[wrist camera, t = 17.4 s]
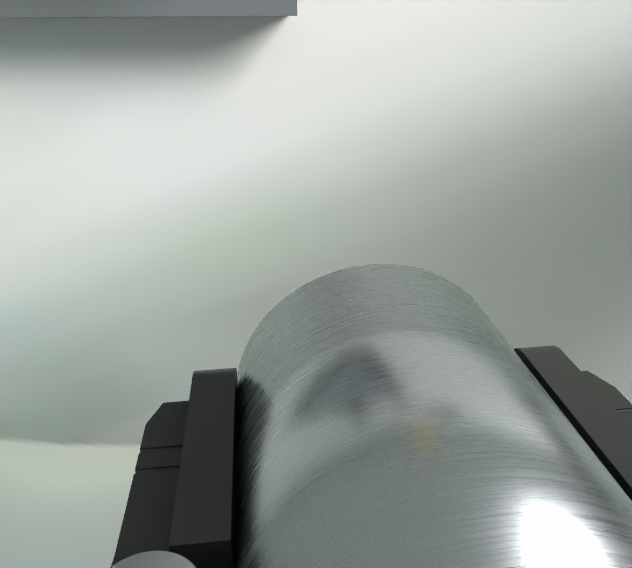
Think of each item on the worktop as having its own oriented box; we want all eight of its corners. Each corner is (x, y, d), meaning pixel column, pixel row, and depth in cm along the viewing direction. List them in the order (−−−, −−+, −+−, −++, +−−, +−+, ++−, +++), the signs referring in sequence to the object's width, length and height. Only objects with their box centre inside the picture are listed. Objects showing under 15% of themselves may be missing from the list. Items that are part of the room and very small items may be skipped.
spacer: (515, 256, 10) (841, 557, 4) (481, 471, 12) (671, 845, 7) (225, 272, 9) (199, 632, 4) (246, 493, 12) (246, 916, 6)
